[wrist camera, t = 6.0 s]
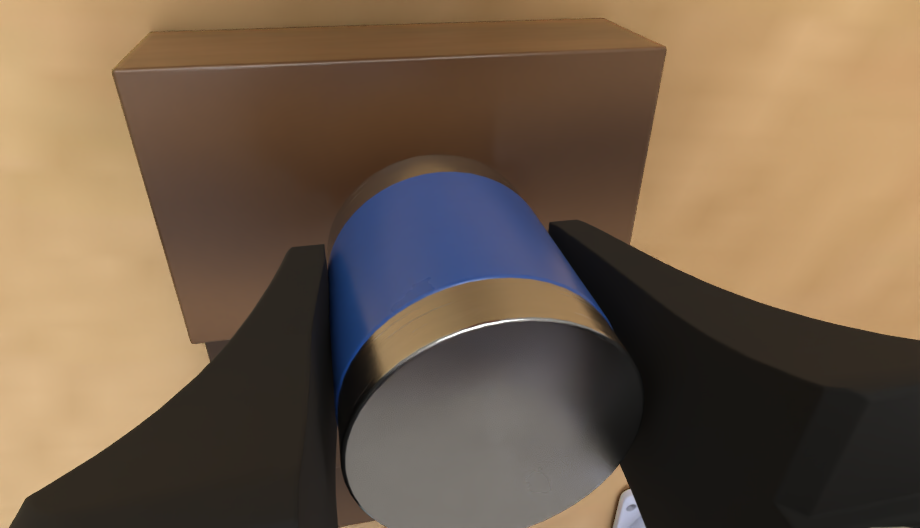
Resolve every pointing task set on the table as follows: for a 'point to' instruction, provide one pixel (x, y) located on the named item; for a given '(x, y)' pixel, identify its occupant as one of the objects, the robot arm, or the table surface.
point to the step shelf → (370, 137)
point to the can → (468, 355)
